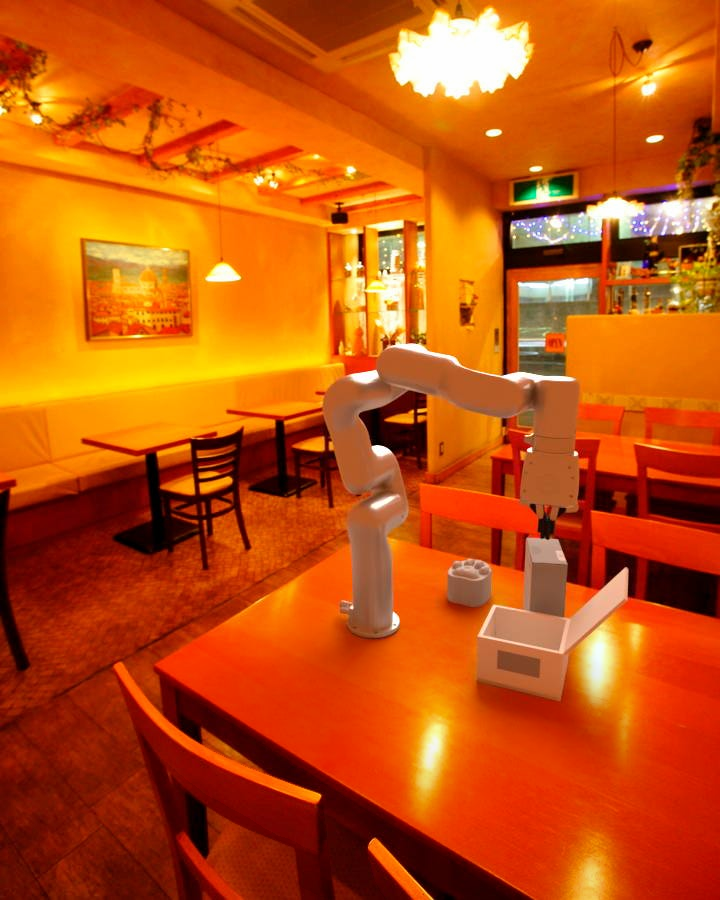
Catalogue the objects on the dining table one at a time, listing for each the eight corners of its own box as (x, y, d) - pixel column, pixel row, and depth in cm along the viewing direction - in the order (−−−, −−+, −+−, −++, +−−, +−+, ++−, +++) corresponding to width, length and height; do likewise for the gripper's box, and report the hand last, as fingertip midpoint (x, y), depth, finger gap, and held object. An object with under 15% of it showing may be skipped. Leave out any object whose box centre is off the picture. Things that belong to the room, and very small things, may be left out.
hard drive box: (563, 649, 125) (568, 565, 120) (527, 646, 126) (530, 563, 122) (554, 614, 140) (558, 537, 135) (521, 612, 141) (524, 536, 137)
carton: (476, 681, 115) (477, 636, 112) (492, 645, 127) (493, 604, 125) (560, 701, 108) (563, 654, 106) (568, 661, 120) (570, 618, 118)
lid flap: (624, 598, 99) (627, 601, 99) (625, 566, 111) (628, 569, 111) (563, 653, 106) (566, 656, 106) (570, 617, 118) (573, 620, 118)
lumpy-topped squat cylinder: (442, 600, 148) (442, 569, 147) (460, 580, 159) (461, 551, 157) (481, 609, 143) (482, 577, 141) (497, 588, 154) (498, 558, 152)
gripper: (508, 444, 105) (502, 537, 109) (595, 452, 99) (585, 550, 103) (515, 436, 112) (509, 524, 116) (597, 443, 106) (588, 536, 110)
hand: (545, 536), depth 110 cm, fingers closed
